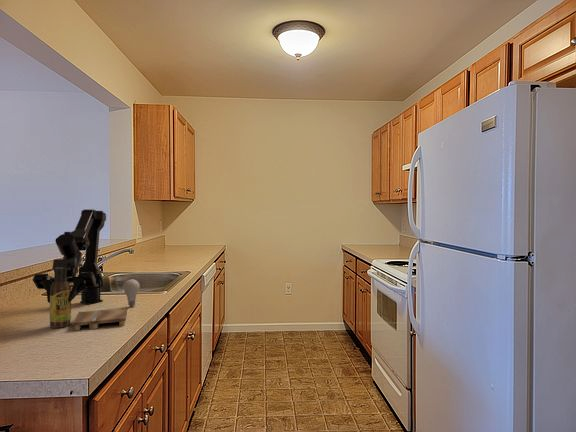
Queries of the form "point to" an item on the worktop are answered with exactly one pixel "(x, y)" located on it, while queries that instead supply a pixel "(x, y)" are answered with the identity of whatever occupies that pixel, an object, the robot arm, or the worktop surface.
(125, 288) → the lightbulb
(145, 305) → the worktop surface
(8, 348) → the worktop surface
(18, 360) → the worktop surface
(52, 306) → the sauce bottle
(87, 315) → the wooden pallet
